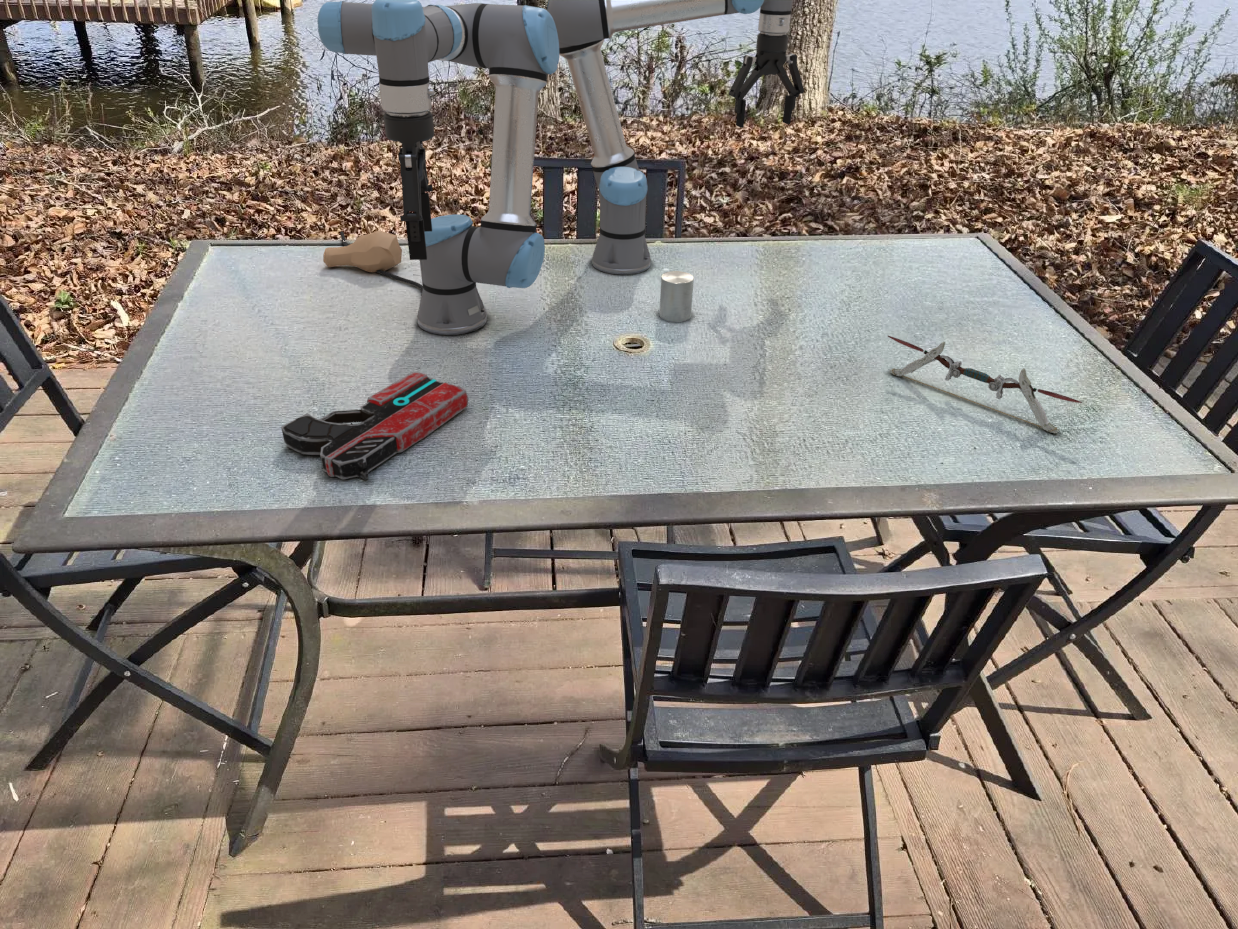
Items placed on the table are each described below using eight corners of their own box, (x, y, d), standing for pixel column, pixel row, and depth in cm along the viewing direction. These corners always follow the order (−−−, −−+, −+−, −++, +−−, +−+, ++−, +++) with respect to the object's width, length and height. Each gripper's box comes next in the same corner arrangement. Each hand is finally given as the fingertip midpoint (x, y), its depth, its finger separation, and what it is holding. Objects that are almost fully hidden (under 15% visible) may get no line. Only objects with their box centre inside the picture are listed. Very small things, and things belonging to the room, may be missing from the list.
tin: (664, 323, 199) (667, 284, 194) (655, 310, 205) (657, 272, 200) (695, 320, 201) (698, 281, 196) (684, 307, 207) (687, 269, 201)
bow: (1071, 436, 162) (1088, 388, 156) (1067, 439, 161) (1085, 392, 155) (883, 367, 183) (892, 323, 178) (878, 369, 182) (888, 325, 177)
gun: (267, 431, 148) (351, 468, 140) (394, 358, 170) (473, 387, 162) (272, 453, 151) (354, 490, 143) (397, 379, 173) (474, 408, 165)
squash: (402, 276, 219) (391, 244, 212) (324, 283, 220) (312, 251, 214) (409, 253, 226) (400, 222, 220) (335, 261, 228) (323, 229, 222)
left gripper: (427, 130, 126) (440, 271, 138) (436, 94, 147) (447, 219, 158) (373, 130, 125) (391, 272, 137) (391, 94, 146) (405, 220, 158)
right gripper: (734, 36, 205) (726, 131, 217) (825, 33, 213) (813, 124, 225) (720, 32, 211) (712, 124, 223) (809, 29, 219) (797, 118, 231)
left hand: (421, 244), depth 148 cm, fingers open, 13 cm apart
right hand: (763, 124), depth 224 cm, fingers open, 13 cm apart
